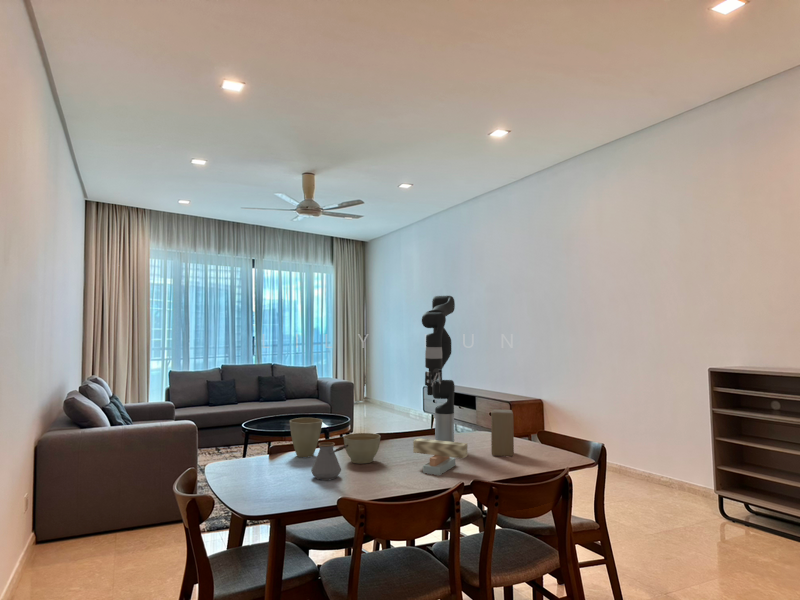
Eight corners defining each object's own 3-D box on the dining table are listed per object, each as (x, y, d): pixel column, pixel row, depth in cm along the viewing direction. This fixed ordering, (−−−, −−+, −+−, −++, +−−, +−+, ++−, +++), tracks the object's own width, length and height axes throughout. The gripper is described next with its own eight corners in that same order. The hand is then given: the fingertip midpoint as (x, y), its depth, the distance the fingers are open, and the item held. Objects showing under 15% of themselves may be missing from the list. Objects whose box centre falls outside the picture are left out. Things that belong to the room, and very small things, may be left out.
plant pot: (291, 460, 221) (291, 423, 222) (286, 453, 235) (287, 418, 236) (324, 458, 226) (325, 422, 227) (318, 451, 240) (319, 417, 241)
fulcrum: (440, 463, 218) (440, 449, 219) (455, 465, 215) (455, 450, 216) (423, 473, 202) (423, 457, 203) (439, 475, 199) (439, 459, 200)
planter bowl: (371, 455, 231) (371, 431, 232) (386, 463, 217) (386, 437, 218) (338, 459, 224) (338, 434, 225) (351, 467, 210) (351, 441, 211)
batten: (467, 455, 207) (467, 443, 207) (463, 458, 202) (463, 445, 202) (418, 450, 216) (418, 438, 217) (413, 452, 212) (413, 440, 212)
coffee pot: (305, 476, 196) (306, 437, 197) (331, 471, 204) (331, 434, 205) (334, 490, 180) (334, 447, 181) (361, 484, 187) (361, 443, 188)
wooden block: (512, 452, 240) (512, 409, 241) (513, 457, 230) (513, 412, 231) (491, 451, 241) (491, 409, 243) (491, 456, 231) (491, 412, 233)
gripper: (435, 358, 217) (435, 396, 216) (447, 356, 230) (447, 392, 229) (419, 357, 220) (419, 395, 220) (432, 356, 233) (432, 391, 232)
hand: (433, 393), depth 224 cm, fingers open, 8 cm apart
